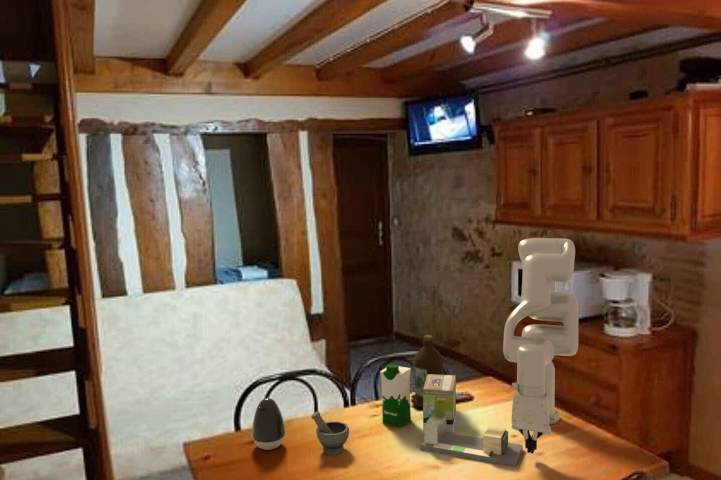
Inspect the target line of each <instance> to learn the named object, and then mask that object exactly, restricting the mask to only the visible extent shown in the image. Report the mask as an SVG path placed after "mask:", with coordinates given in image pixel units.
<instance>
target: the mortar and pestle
mask: <svg viewBox="0 0 721 480" xmlns="http://www.w3.org/2000/svg"><path fill="white" fill-rule="evenodd" d="M310 417H311V419H312V420H314V423H315V424H316V431H315V432H316V437H317V439H318V440H319V443H320V445H321V446H322V451H323V452H324V454H327V455H338V454H341V453H342V452H344V450H345V448H344V445H345V444H346V442H347V440H348V439H349V437H350V436H349V435H350V426H349V425H348V423H345V422H342V421H337V420H335V421H334V420H333V421H325V420H324V419H323V417H322V416H321V413H320V412H319V411H315V412H313V413H312V415H311V416H310Z"/></svg>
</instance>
